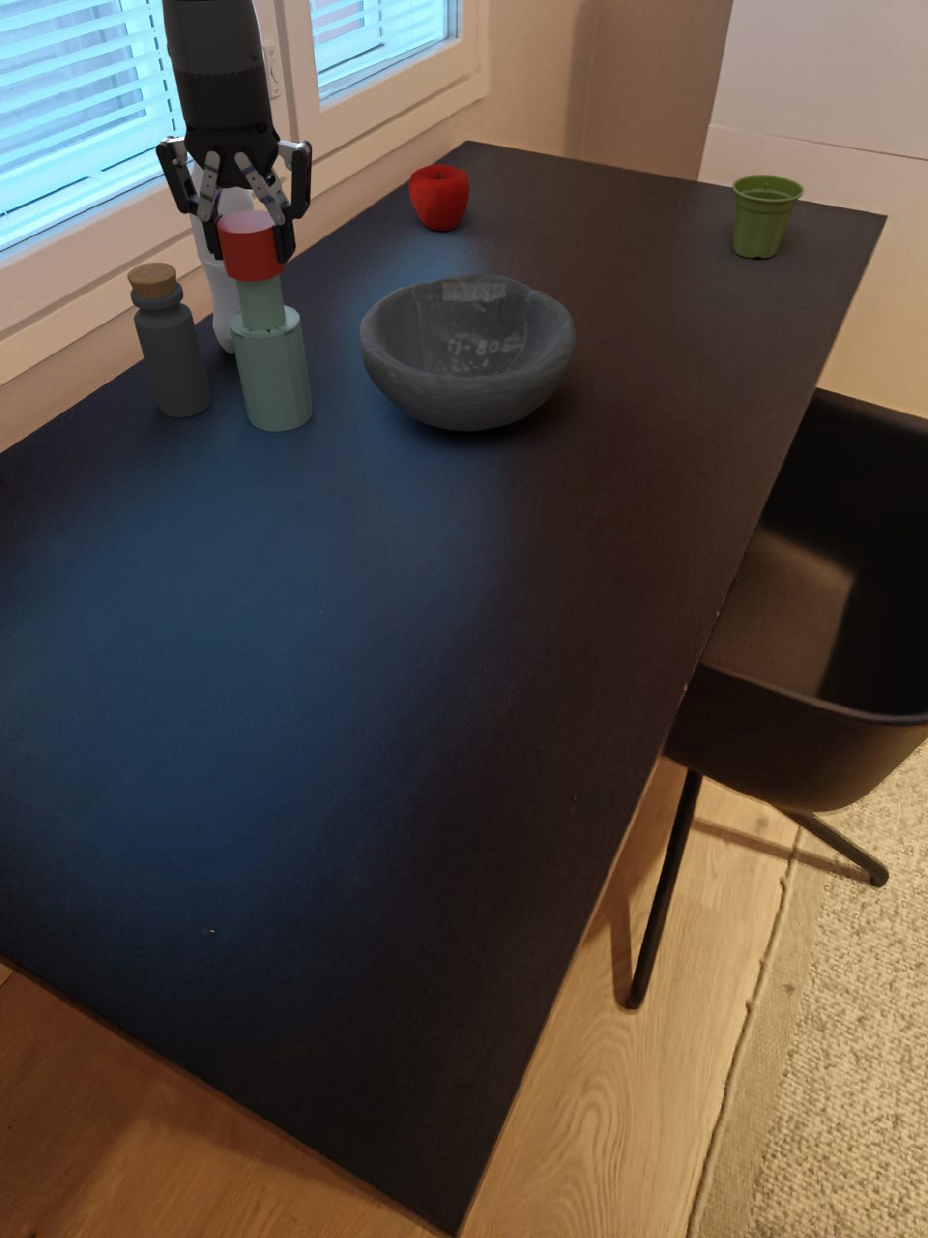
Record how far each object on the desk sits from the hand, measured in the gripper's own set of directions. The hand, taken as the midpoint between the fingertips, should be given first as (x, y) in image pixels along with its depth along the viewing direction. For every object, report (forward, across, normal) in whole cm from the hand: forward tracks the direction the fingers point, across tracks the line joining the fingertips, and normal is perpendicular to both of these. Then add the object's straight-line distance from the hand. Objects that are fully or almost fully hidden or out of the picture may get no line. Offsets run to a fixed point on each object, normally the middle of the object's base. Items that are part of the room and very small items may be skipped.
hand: (253, 257), depth 86 cm
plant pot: (+18, -55, -49) cm, 76 cm away
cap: (+1, 0, 0) cm, 1 cm away
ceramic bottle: (+17, 0, 0) cm, 17 cm away
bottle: (+18, +11, -1) cm, 21 cm away
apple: (+18, -9, -52) cm, 56 cm away
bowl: (+18, -20, -5) cm, 27 cm away
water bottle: (+18, +8, -14) cm, 24 cm away
